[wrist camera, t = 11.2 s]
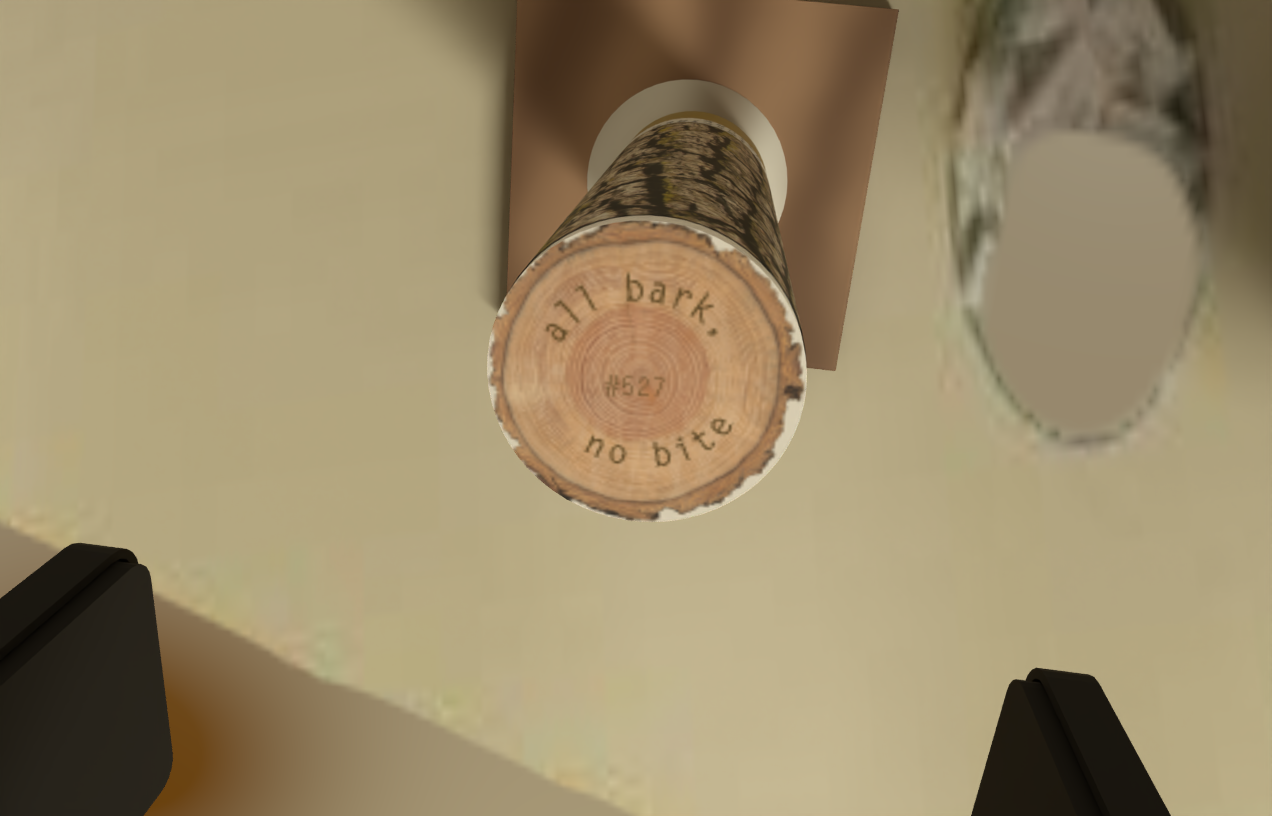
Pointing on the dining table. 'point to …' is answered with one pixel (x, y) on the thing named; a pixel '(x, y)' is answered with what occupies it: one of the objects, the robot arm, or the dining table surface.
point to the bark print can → (656, 332)
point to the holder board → (721, 85)
